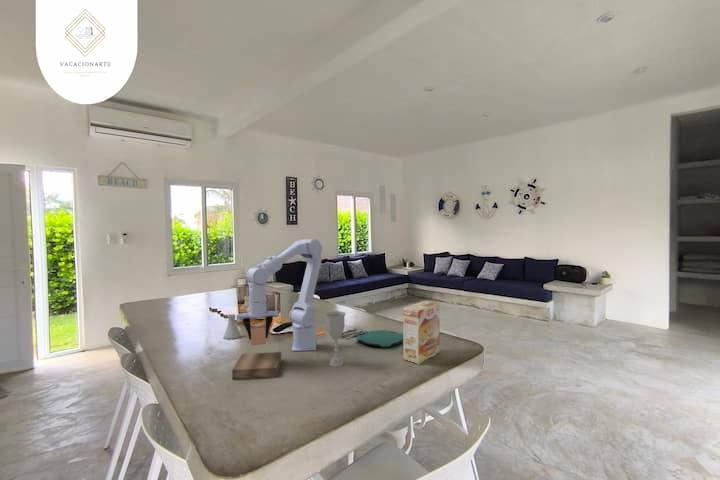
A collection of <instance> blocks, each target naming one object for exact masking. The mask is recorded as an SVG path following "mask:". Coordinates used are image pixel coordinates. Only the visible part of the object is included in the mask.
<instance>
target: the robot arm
mask: <svg viewBox="0 0 720 480" xmlns="http://www.w3.org/2000/svg"><path fill="white" fill-rule="evenodd" d="M322 251H323V246H322V243H321V242H320V241H319V240H318V239H316V238H315V239H314V238H313V239H307V238H306V239H304V238H299V239H298V240H296V241H294V242H293V244H291V245H290V246H289V247H288V248H286V249H285V250H283V252H281V253H280V254H278V255H277V256H276V255H272V256H270V255H269V256H267V257H266V260H264V261H263V262H261V263H258V264H257V265H256V267H251V268H249V269H248V270H247V272H246V275H245V280H246V282H247V283H248V302H249V303H248V305H249V306H248V307H249V312H244V313H236V314H235V315H236V316H235V317H236V321H239V322H240V321H242V324H243V326H244V328H245V330H246V331H247V335H248V340H250V341H251V320H255V319H265V329H266V339H268V338H269V337H268V336H269V331H270V328H271V325H272V323H273V320H274V318H279V317H280V315H279V314H280V312H279V310H267V303H266V302H267V299H266V298H267V296H266V283H268V281H269V279H270V277H271V276H273V275H274V274H275V273H277V272H278V271H280V270H281V269H282V267H283V264H284V263H286V262H287V261H289V260H291V259H293V258H294V257H295V256H297V255H299V256H301V257H302V258H303V259H304V260H305V262H306V268H305V271H304V275H303V281H302V284H301V287H300V288H301V289H300V293H299V296H298V300H297V301H296V302H294V304H293V305H292V309H291V310H290V312H289V314H288V319H289V321H290V322H291V326H292V338H293V340H292V342H293V343H292V347H291V352H302V351H316V350H317V344H318V339H317V325H314V322H315V319H316V318H315V317H316V316H315V311H316V308H315V306H314V305H313V299H314V295H315V290H316V287H317V282H318V279H319V273H320V270H321V265H322Z"/></svg>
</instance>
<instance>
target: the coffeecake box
mask: <svg viewBox="0 0 720 480" xmlns="http://www.w3.org/2000/svg"><path fill="white" fill-rule="evenodd" d="M440 305H441V302H440V303H439V302H435V301H429V300H428V301H427V300H423V301H420V302H417V303H414V304H410V305H408V306H404V307H403V308H402V310H403V312H402V313H403V317H402V318H403V326H402V327H403V328H402V330H403V332H402V334H403V341H402V344H403V347H402V348H403V349H402V350H403V351H402V352H403V355H402V356H403V357H402V358H403V359H405V360H408V361H407V362H409V361H411V362H410V363H412V362H415V363H418V364H419V363H421V362H423V361H424V360H426V359H428V358H429V357H431V356H432V355H434V354H436V353H437V352H439V351H440V352H441V350H440V333H441V332H440V331H441V330H440V322H441V321H440V320H441V318H440V316H441V315H440V314H441V313H440V311H441V309H440V307H441V306H440ZM403 359H402V360H403ZM405 360H404V361H405ZM428 360H429V359H428ZM426 361H427V360H426ZM423 363H424V362H423ZM418 364H417V365H418ZM421 364H422V363H421ZM419 365H420V364H419Z"/></svg>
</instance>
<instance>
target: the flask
mask: <svg viewBox="0 0 720 480" xmlns="http://www.w3.org/2000/svg"><path fill="white" fill-rule="evenodd" d="M236 315H237V314H234V313H232V314H231V313H230V314H228V315H227V318H228V320H227V326H226V329H225V332H224V335H223V339H224V340H236V339H239V338H240V337H241V336H242V334H241V332H240V330H239V327H238V325H237V322H236V321H237V320H236V317H237V316H236Z"/></svg>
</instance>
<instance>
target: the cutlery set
mask: <svg viewBox="0 0 720 480" xmlns="http://www.w3.org/2000/svg"><path fill="white" fill-rule="evenodd" d="M357 330H362V332H360V331H357ZM357 330H356V329H355V332H354V330H352V329H347V330H346V331H343V333H342V335H341V337H340V339H343V338H345V340H346V341H348V340H349V339H350V338H355V337H356V342H357V343H358V342H360V343H362V344H364V345H367V346H368V345H369V346H376V347H381V348H389V347H391V346H396V345H398V344H401V343H403V332H401V333H400V332H396V331H392V330H386V329H377V330H376V329H375V330H370V331H367V330H365V331H363V329H362V328H361V329H359V328H358V329H357ZM359 332H360V333H359ZM365 332H366V333H365ZM345 333H346V334H345ZM347 333H348V334H347ZM360 334H361V335H360ZM350 335H352V336H350ZM348 336H349V337H348Z"/></svg>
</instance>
